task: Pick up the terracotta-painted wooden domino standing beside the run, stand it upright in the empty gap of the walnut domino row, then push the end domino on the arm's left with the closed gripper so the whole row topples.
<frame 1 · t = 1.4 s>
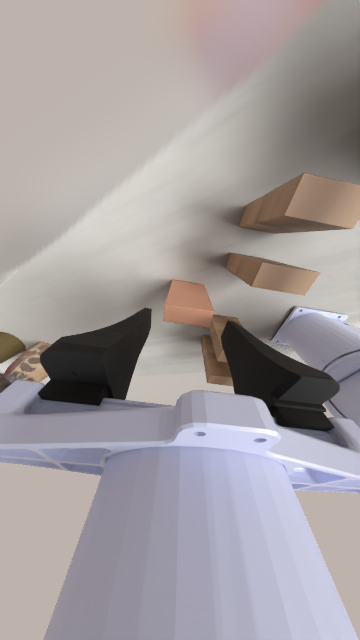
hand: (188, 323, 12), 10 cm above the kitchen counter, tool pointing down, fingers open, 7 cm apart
domino 3: (187, 288, 21), on the kitchen counter
domino 2: (244, 263, 19), on the kitchen counter
domino 5: (214, 340, 27), on the kitchen counter
figurine: (50, 352, 31), on the kitchen counter
cork: (11, 341, 29), on the kitchen counter
domino 4: (221, 320, 24), on the kitchen counter
domino 1: (261, 220, 16), on the kitchen counter
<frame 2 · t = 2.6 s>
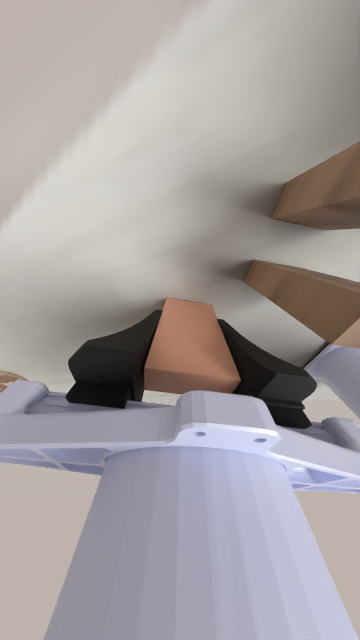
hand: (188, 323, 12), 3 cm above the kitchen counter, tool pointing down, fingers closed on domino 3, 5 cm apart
domino 3: (187, 309, 15), on the kitchen counter, touching gripper
domino 2: (273, 275, 12), on the kitchen counter
figurine: (16, 381, 25), on the kitchen counter
domino 1: (309, 208, 10), on the kitchen counter
when the fingers open (4 cm above the kitchen counter, at t = 6.8 s): domino 3 drops 1 cm, on the kitchen counter.
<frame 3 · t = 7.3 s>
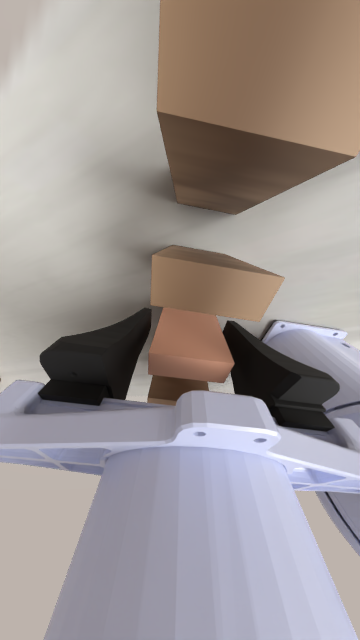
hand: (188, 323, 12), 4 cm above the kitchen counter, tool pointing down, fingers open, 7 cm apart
domino 3: (187, 305, 15), on the kitchen counter
domino 2: (196, 260, 13), on the kitchen counter
domino 4: (181, 336, 18), on the kitchen counter
domino 1: (210, 192, 10), on the kitchen counter
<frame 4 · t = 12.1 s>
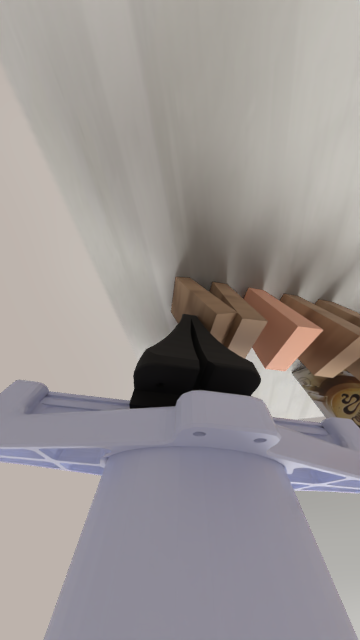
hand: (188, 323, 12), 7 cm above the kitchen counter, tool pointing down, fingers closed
domino 3: (247, 305, 19), on the kitchen counter
domino 2: (280, 310, 19), on the kitchen counter
domino 5: (179, 295, 18), on the kitchen counter, tilted 23°, touching domino 4
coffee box: (319, 369, 26), on the kitchen counter
domino 4: (214, 300, 18), on the kitchen counter, touching domino 5
domino 1: (312, 315, 19), on the kitchen counter
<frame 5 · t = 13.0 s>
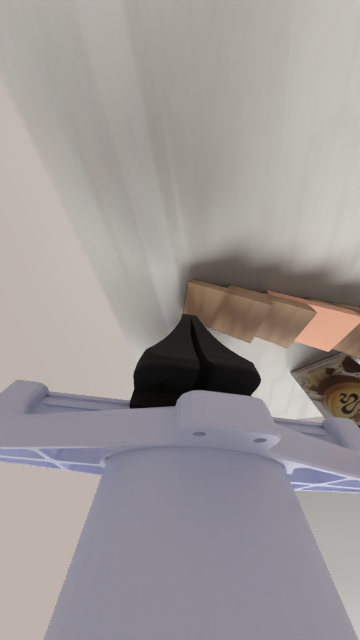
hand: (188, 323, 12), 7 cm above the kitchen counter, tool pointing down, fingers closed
domino 3: (259, 309, 18), point 1 cm above the kitchen counter, tilted 69°, touching domino 2, domino 4
domino 2: (297, 315, 18), point 1 cm above the kitchen counter, tilted 69°, touching domino 3
domino 5: (187, 299, 17), point 1 cm above the kitchen counter, tilted 66°, touching domino 4
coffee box: (318, 369, 26), on the kitchen counter
domino 4: (222, 303, 18), point 1 cm above the kitchen counter, tilted 67°, touching domino 3, domino 5
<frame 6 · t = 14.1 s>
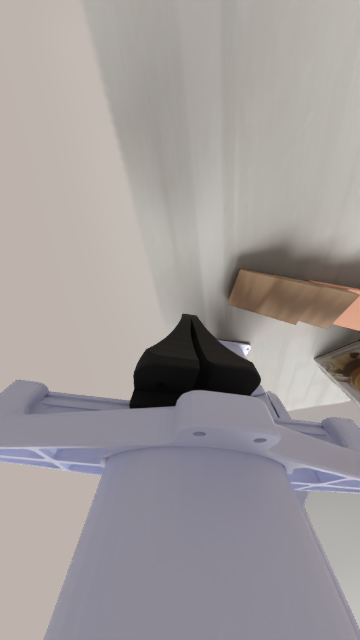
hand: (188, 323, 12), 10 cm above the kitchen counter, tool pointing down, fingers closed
domino 3: (299, 297, 20), point 1 cm above the kitchen counter, tilted 69°, touching domino 2, domino 4
domino 5: (233, 286, 19), point 1 cm above the kitchen counter, tilted 66°, touching domino 4
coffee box: (340, 355, 27), on the kitchen counter
domino 4: (264, 291, 19), point 1 cm above the kitchen counter, tilted 68°, touching domino 3, domino 5
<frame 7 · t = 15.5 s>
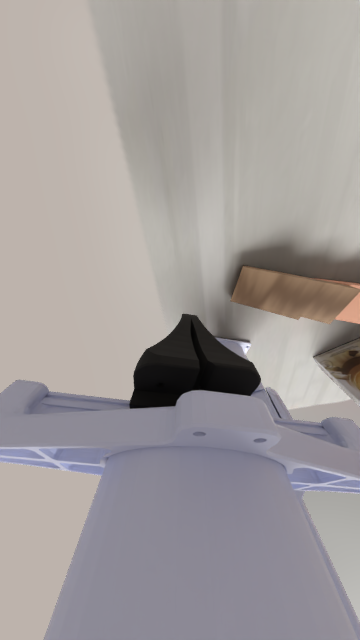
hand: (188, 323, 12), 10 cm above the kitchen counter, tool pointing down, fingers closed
domino 3: (307, 295, 20), point 1 cm above the kitchen counter, tilted 69°, touching domino 2, domino 4
domino 5: (236, 283, 19), point 1 cm above the kitchen counter, tilted 67°, touching domino 4
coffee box: (339, 353, 28), on the kitchen counter
domino 4: (267, 288, 20), point 1 cm above the kitchen counter, tilted 70°, touching domino 3, domino 5
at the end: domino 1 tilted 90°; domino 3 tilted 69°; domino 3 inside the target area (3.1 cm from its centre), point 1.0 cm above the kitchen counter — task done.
